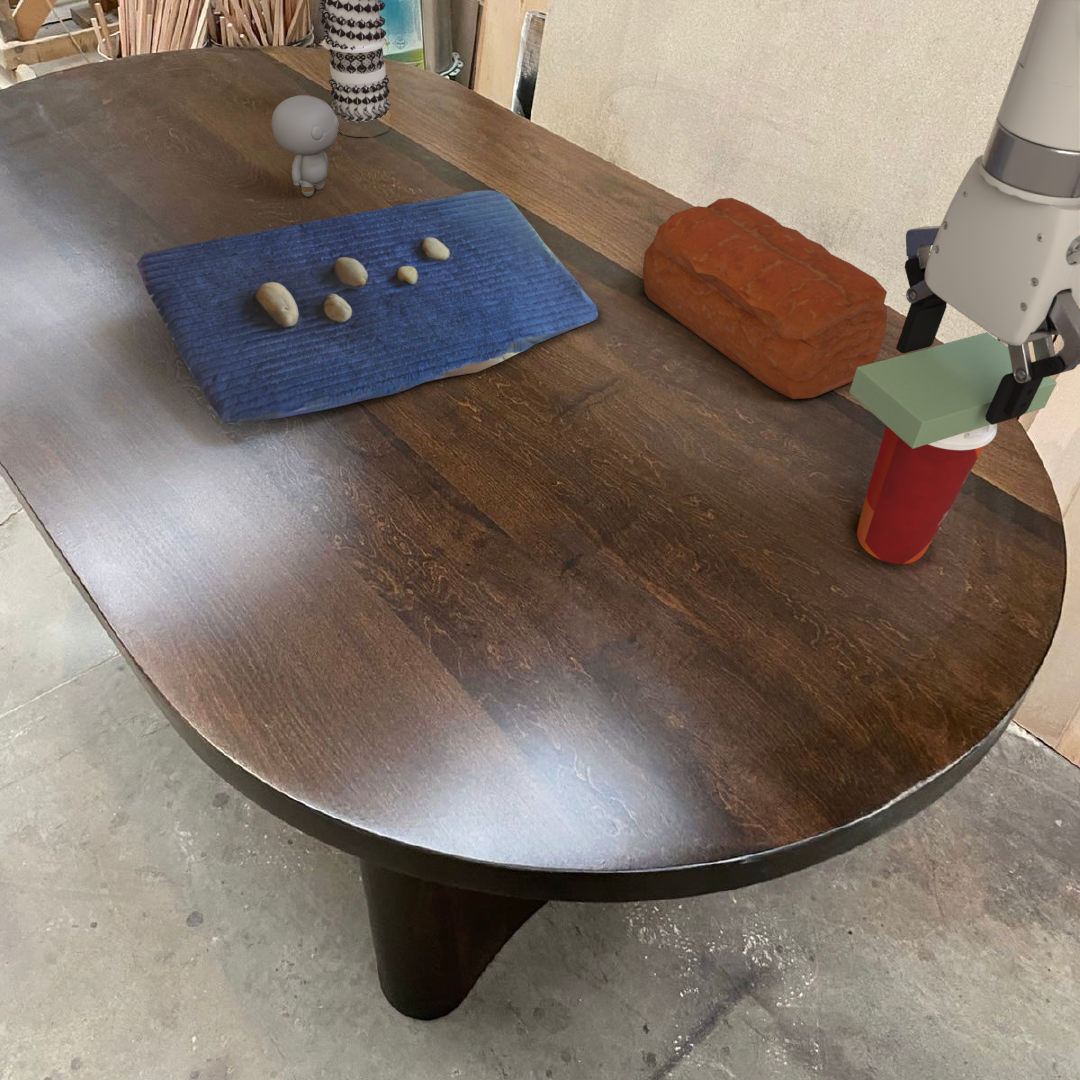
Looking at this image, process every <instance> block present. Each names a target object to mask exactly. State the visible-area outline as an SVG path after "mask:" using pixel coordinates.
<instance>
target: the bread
mask: <svg viewBox="0 0 1080 1080" xmlns="http://www.w3.org/2000/svg"><path fill="white" fill-rule="evenodd" d="M643 255H644V256H643V264H642V265H643V266H642V275H643V276H642V277H643V287H644V293H645V294H646V297H647V298H648V300H649V301H651V302H652V303H653V304H655V305H657V306H658V307H659V308H660V309H662V310H663V311H664V312H665V313H668V314H669V315H670V316H671V317H672V318H673V319H675V320H676V321H678V322H679V323H680V324H682V325H683V326H684V327H686V328H687V329H688V330H689V331H691V332H692V333H693V334H695V335H697V336H698V337H699V338H701V339H702V340H703V341H705V342H706V343H707V344H708V345H710V346H712V347H713V348H715V349H716V350H717V351H719V352H720V353H721V354H723V355H724V356H725V357H727V358H728V359H729V360H731V362H734V363H735V364H737V365H738V366H739V367H740V368H742V369H743V370H745V371H746V372H747V373H748V374H750V375H751V376H753V377H754V378H755V379H757V380H758V381H759V382H760V383H762V384H764V385H765V386H767V387H769V388H770V389H771V390H774V391H775V392H776V393H779V394H781V395H782V396H783V395H784V396H785V397H787V398H789V399H792V400H799V399H811V398H813V399H814V398H816V397H818V396H821V395H823V394H826V393H828V392H831V391H833V390H836V389H837V388H840V387H843V386H845V385H848V384H851V383H852V382H853V379H854V376H855V373H856V370H857V367H860V366H864V365H867V364H871V363H875V362H876V360H877V357H878V355H879V353H880V351H881V350H882V349H881V348H882V347H883V343H884V339H885V335H886V332H887V331H886V330H887V324H888V307H887V306H886V304H885V302H886V298H887V294H888V292H887V290H886V289H885V288H884V287H883V286H882V284H881V283H880V282H879V281H878V280H877V279H876V277H873V276H872V275H871V274H868V273H867V272H865V271H863V270H862V269H860V268H859V267H857V266H855V265H854V264H852V263H851V262H849V261H847V260H844V259H842V258H841V257H838V256H836V255H834V254H832V253H831V252H829V250H828V249H827V248H825V247H824V246H823V245H822V244H821V243H818V242H816V241H814V240H812V239H809V238H807V237H806V236H805V235H804V234H802V233H801V232H800V231H799V230H797V229H795V228H791V227H788V226H784V225H783V224H781V223H780V222H779V221H778V220H777V219H775V218H774V217H772V216H770V215H768V214H766V213H765V212H763V211H761V210H760V209H757V208H756V207H755V206H752V205H751V204H749V203H746V202H744V201H741V200H739V199H735V198H733V197H725V198H718V199H717V200H715V201H713V202H712V203H710V204H709V205H707V206H699V205H697V206H694V207H691V208H688V209H684V210H681V211H677V212H676V213H673V214H671V215H670V216H669V218H668V219H667V220H666V221H665V222H664V223H662V224H659V226H658V228H657V231H656V233H655V235H654V238H653V240H652V242H651V243H650V245H649V246H648V247H647V248H646V250H645V251H644V254H643Z"/></svg>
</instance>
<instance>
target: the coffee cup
mask: <svg viewBox="0 0 1080 1080" xmlns="http://www.w3.org/2000/svg"><path fill="white" fill-rule="evenodd" d="M884 429H885V430H884V432H883V436H882V439H881V443H880V447H879V450H878V453H877V456H876V460H875V462H874V463H875V464H874V467H873V471H872V473H871V476H870V477H871V478H870V481H869V484H868V488H867V491H866V495H865V498H864V502H863V506H862V509H861V513H860V517H859V521H858V525H857V528H856V529H857V530H856V537H857V540H858V543H859V544H860V546H861V547H862V549H864V551H865V552H867V553H868V554H869V555H871V556H872V557H873V558H876V559H878V560H879V561H882V562H885V563H888V564H895V565H906V564H907V565H909V564H912V563H915V562H918V561H919V560H920V559H921V558H922V557H923V556H924V555H925V553H926V551H927V550H928V548H929V547H930V546H931V543H932V542H933V540H934V538H935V536H936V534H937V533H938V531H939V529H940V528H941V526H942V524H943V522H944V521H945V518H946V516H947V515H948V513H949V511H950V510H951V508H952V506H953V504H954V503H955V500H956V499H957V497H958V495H959V494H960V491H961V490H962V488H963V486H964V484H965V483H966V481H967V479H968V477H969V475H970V473H971V472H972V470H973V468H974V466H975V464H976V462H977V461H978V459H979V457H980V455H981V453H982V451H983V449H984V448H985V446H987V445H988V444H990V443H991V442H992V441H993V440H994V439H995V437H996V435H997V433H998V423H997V424H993V425H988V426H984V427H981V428H978V429H975V430H971V431H968V432H965V433H962V434H959V435H955V436H952V437H949V438H946V439H943V440H939V441H936V442H933V443H930V444H926V445H923V446H920V447H917V448H914V449H912V448H911V447H910V446H909V445H908V444H907V443H905V442H904V441H903V440H902V439H901V438H900V437H899V436H897V435H896V434H895V433H894V432H893V431H892V430H891V429H890V428H888V427H887V426H886V425H885V428H884Z"/></svg>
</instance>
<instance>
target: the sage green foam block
mask: <svg viewBox="0 0 1080 1080" xmlns="http://www.w3.org/2000/svg"><path fill="white" fill-rule="evenodd" d="M1009 373H1013V371H1012V365H1011V360H1010V354H1009V349H1008V345H1007V344H1005V343H1004V342H1002V341H1001V340H999V339H998V338H996V337H995V336H993V335H992V334H990V333H989V332H987V331H986V332H982V333H979V334H975V335H971V336H968V337H964V338H960V339H957V340H953V341H949V342H946V343H942V344H938V345H934V346H929V347H926V348H922V349H919V350H915V351H911V352H908V353H903V354H901V355H898V356H895V357H889V358H886V359H882V360H880V361H879V360H878V361H874V363H871V364H867V365H864V366H860V367H857V370H856V373H855V376H854V379H853V381H852V382H851V386H850V388H849V391H848V393H849V394H850V395H851V396H852V397H853V398H854V399H856V400H857V401H858V402H859V403H860V404H861V405H862V406H863V407H864V408H866V410H868V411H869V412H870V413H871V414H872V415H873V416H875V417H876V418H877V419H878V420H879V421H880V422H882V423H883V424H884V425H885V427H886V426H887V427H888V428H890V429H891V430H892V431H893V432H894V433H895V434H896V435H897V436H899V437H900V438H901V439H902V440H903V441H904V442H905V443H907V444H908V445H909V446H910V447H911V448H912V449H914V448H917V447H920V446H923V445H926V444H930V443H933V442H936V441H939V440H943V439H946V438H949V437H952V436H955V435H959V434H962V433H965V432H968V431H971V430H975V429H978V428H981V427H984V426H988V425H991V424H990V423H989V422H988V421H986V417H985V415H986V413H987V411H988V409H989V406H990V404H991V402H992V400H993V398H994V395H995V393H996V391H997V389H998V386H999V384H1000V382H1001V380H1002V378H1003V376H1005V375H1006V374H1009ZM1057 384H1058V382H1057V381H1056V380H1054V379H1053V378H1052V377H1051V376H1049V377H1045V378H1043V380H1042V382H1041V384H1040V386H1039V388H1038V390H1037V392H1036V394H1035V396H1034V398H1033V400H1032V403H1031V405H1030V407H1029V409H1028V410H1027V411H1026V412H1025V413H1024V414H1023V415H1026V414H1029V413H1033V412H1036V411H1038V410H1039V411H1040V410H1042V409H1045V407H1046V405H1047V403H1048V402H1049V400H1050V397H1051V396H1052V394H1053V392H1054V390H1055V388H1056V386H1057Z"/></svg>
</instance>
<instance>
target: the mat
mask: <svg viewBox="0 0 1080 1080" xmlns="http://www.w3.org/2000/svg"><path fill="white" fill-rule="evenodd" d="M136 266H137V269H138V272H139V275H140V277H141V280H142V282H143V286H144V288H145V291H146V292H147V294H148V296H149V298H150V299H151V301H152V303H153V305H154V306H155V308H156V310H157V312H158V313H159V315H160V317H161V319H162V321H163V322H164V324H165V327H166V329H167V330H168V332H169V335H170V336H171V338H172V340H173V342H174V345H175V347H176V349H177V351H178V353H179V355H180V356H181V359H182V360H183V362H184V364H185V365H186V367H187V368H188V370H189V372H190V374H191V375H192V377H193V379H194V380H195V382H196V384H197V386H198V387H199V389H200V391H201V393H202V394H203V396H204V398H205V399H206V401H207V403H208V404H209V406H210V408H211V409H212V411H213V413H214V415H215V416H216V417H217V418H218V419H220V420H221V422H223V423H224V424H231V425H244V424H249V423H250V424H251V423H255V422H256V423H257V422H262V421H269V420H275V419H281V418H287V417H292V416H299V415H302V414H309V413H313V412H319V411H325V410H330V409H334V408H338V407H342V406H347V405H351V404H355V403H358V402H363V401H366V400H373V399H377V398H383V397H387V396H392V395H395V394H399V393H401V392H404V391H407V390H409V389H412V388H414V387H416V386H417V387H418V386H419V385H421V384H424V383H427V382H432V381H437V380H441V379H445V378H450V377H456V376H457V377H458V376H461V375H468V374H476V373H479V372H481V371H484V370H486V369H489V368H490V367H493V366H495V365H497V364H499V363H502V362H504V361H506V360H508V359H511V358H512V357H514V356H516V355H518V354H520V353H523V352H525V351H527V350H529V349H530V348H532V347H533V346H535V345H538V344H541V343H542V342H544V341H547V340H551V339H552V338H555V337H558V336H560V335H562V334H564V333H567V332H569V331H571V330H574V329H576V328H579V327H582V326H584V325H586V324H589V323H592V322H594V321H597V320H598V317H599V309H598V307H597V305H596V304H595V302H594V301H593V300H592V299H591V298H590V296H589V295H588V294H587V293H586V292H585V291H584V290H583V287H582V286H581V285H580V283H579V281H578V280H577V279H576V278H575V277H574V276H573V274H572V273H571V272H570V271H569V269H567V268H566V267H565V266H564V264H563V263H562V262H561V261H560V259H559V258H558V257H557V256H556V255H555V253H554V252H553V251H552V250H551V248H549V246H548V245H547V244H546V243H545V241H544V240H543V239H542V238H541V236H540V235H539V233H538V232H537V231H536V230H535V228H534V227H533V226H532V224H531V223H530V222H529V221H528V219H527V218H526V217H525V215H524V214H523V213H522V212H521V210H520V209H519V208H518V207H517V205H515V203H514V202H513V201H512V200H511V198H509V197H508V196H507V195H506V194H504V193H502V192H501V191H500V192H499V191H496V190H491V189H490V190H489V189H487V190H485V189H483V190H474V191H467V192H466V191H465V192H463V193H460V194H455V195H449V196H445V197H437V198H434V199H426V200H422V201H416V202H415V201H414V202H410V203H403V204H397V205H394V206H389V207H386V208H379V209H372V210H367V211H360V212H356V213H351V214H344V215H338V216H333V217H327V218H323V219H316V220H311V221H303V222H300V223H298V224H291V225H286V226H282V227H277V228H270V229H266V230H260V231H254V232H249V233H242V234H235V235H232V236H227V237H225V236H224V237H219V238H214V239H208V240H204V241H197V242H192V243H188V244H182V245H178V246H173V247H169V248H165V249H161V250H156V251H150V252H146V253H144V254H142V255H141V256H140V258H139V260H138V261H137V263H136Z"/></svg>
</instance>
